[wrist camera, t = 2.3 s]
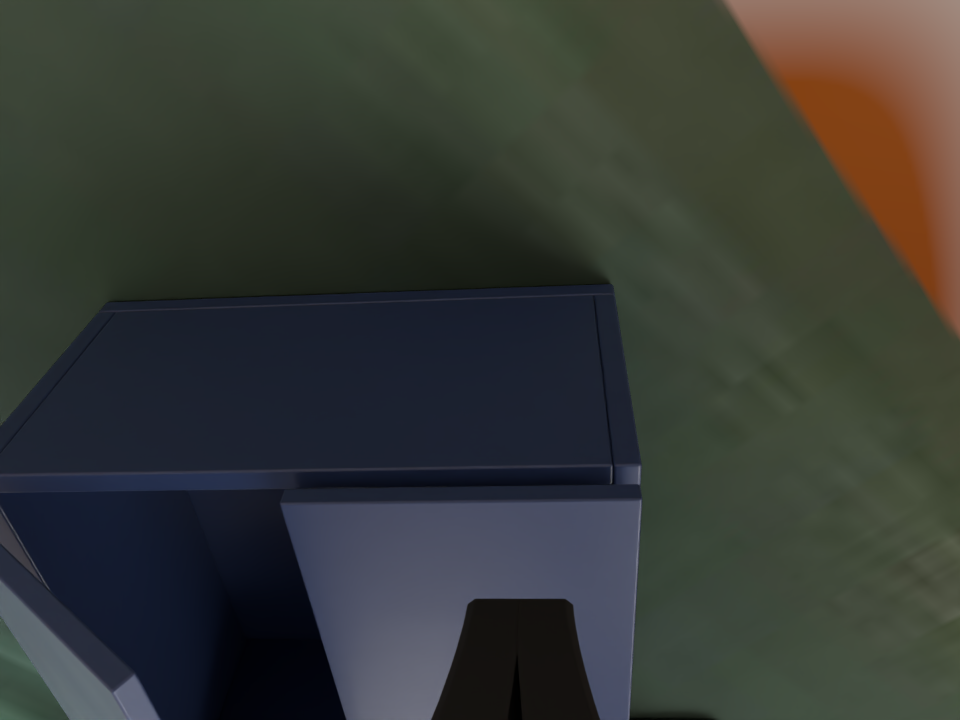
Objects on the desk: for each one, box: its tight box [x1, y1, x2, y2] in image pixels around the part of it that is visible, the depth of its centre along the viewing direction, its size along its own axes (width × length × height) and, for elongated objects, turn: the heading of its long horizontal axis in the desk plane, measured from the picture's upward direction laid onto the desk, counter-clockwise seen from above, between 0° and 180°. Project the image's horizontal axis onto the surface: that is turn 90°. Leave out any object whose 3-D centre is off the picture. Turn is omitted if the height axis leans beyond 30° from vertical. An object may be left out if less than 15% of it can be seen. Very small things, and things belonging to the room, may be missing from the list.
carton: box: [0, 284, 642, 720], centre depth 21 cm, size 14×13×7 cm
